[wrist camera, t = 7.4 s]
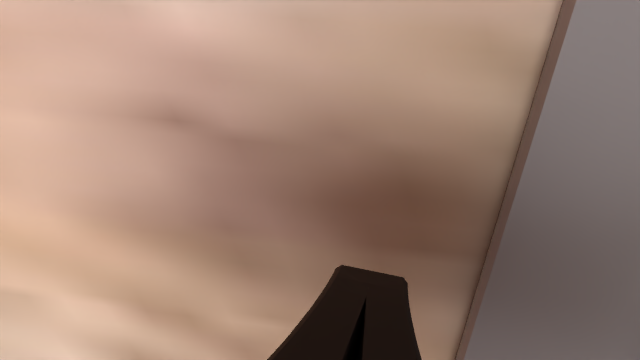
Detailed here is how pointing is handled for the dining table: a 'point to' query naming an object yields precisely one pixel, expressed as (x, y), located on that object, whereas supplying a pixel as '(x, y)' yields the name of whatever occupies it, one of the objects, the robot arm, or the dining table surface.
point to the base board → (570, 204)
